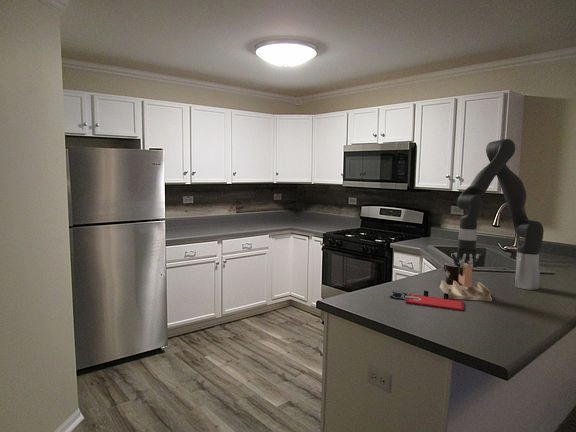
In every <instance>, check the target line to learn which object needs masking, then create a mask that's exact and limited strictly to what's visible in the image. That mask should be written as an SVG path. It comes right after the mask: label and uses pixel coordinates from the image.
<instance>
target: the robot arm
mask: <svg viewBox="0 0 576 432" xmlns="http://www.w3.org/2000/svg"><path fill="white" fill-rule="evenodd" d="M485 147H486V148H485V152H486V156H487V158H488V161H489V163H488V164H487V165H486V166H484V168H483V167H482V169H481V170H480V171H479V172H478V173H477V174H476V176H475V177H474V179H473V180H472V182H471V183H470V185H469V186H468V187H467V188H466V189H464V191H463V192H461V194H459V195H458V198H457V201H456V205H457V207H458V209H460V210H464V211H468V214H466V215H462V216H461V217H460V220H459V230H458V241H457V250H456V252H452V253H450V256H451V259H452V261H453V263H454V264H455V265H456V266H458V267H459V274H460V275H461V276H462V274H463V268H462V267H463V264H464V263H465V261H467V264H468V265H470V266H471V267H472V271H473V269H474V268H478V266H479V264H480V263H481V261H482V259H483V255H481V254H479V253H478V252H477V242H478V241H477V239H478V232H477V231H478V230H477V227H478V219H479V217H480V213H481V211H482V208H483V199H482V197H481V196H483V195H485V193H486V192H487V191H488V189H489V186H491V184H492V182H493V180H494V179H495V178H497V181H498V182H499V185H500V188H501V191H502V193H503V197H504V199H505V201H506V204H507V208H508V210H509V213H510V216H511V219H512V225H513V229H514V232H515V234H516V235H517V236H518V237H520V238H522V239H524V242H523V244H521V245H518V246H517V247H516V248H517V249H516V250H517V251H516V263H515V265H516V266H515V277H514V278H515V280H514V287H516V288H519V289H522V290H539V288H540V287H539V285H540V276H541V275H540V271H541V270H540V269H539V262H540V261H539V259H540V258H539V257H540V251H541V249H542V246H543V239H544V232H545V231H544V226H543V224H542V223H541V222H539V221H537V220H531V219H529V218H528V217H529V216H528V215H527V213H526V210H525V209H526V208H525V206H526V205H525V204H526V201H527V190H526V189H525V185H524V182H523V181H522V179H521V178H520V177H519V176H518V175H517V174H516V173H515V172H514V171H513V170H511V169H510V168H509V166H508V165H507V163H508V162H509V160H511V158H512V157H513V156H514V155H515V152H516V144H515V142H514V141H513V140H512V139H509V138H503V139H498V140H494V141H491V142H488V143H487V145H486V146H485ZM458 257H459V262H458V260H457V258H458ZM475 258H476V259H475ZM474 259H475V260H474Z"/></svg>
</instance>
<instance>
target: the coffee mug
mask: <svg viewBox="0 0 576 432" xmlns="http://www.w3.org/2000/svg"><path fill="white" fill-rule="evenodd" d="M443 271H444V272H445V283H446V284H447V285H453V281H456V282H457V283H458V284H459V285H460V286H461V283H460V282H459V267H458V266H456V265H455V264H454V262H446V263H444V265H443Z"/></svg>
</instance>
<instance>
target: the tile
mask: <svg viewBox="0 0 576 432" xmlns="http://www.w3.org/2000/svg"><path fill="white" fill-rule="evenodd" d="M462 268H463V274H462V276H461V275H460V274H459V282H460V285H461V286H464V287H471V285H472V281H473V280H472V279H473V270H472V267H471V266H470V265H469V263H468V262H464V264H463V267H462Z"/></svg>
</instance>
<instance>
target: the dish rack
mask: <svg viewBox="0 0 576 432" xmlns="http://www.w3.org/2000/svg"><path fill="white" fill-rule="evenodd" d="M476 284H477V285H473V284H471V287H464V286H463V285H461V284H460V285H459V284H458V283H457V282H456V281H453V285H448V284H446V280H443V279H441V281H440V284H439V289H440V290H441V291H442V293H443V294H444V293H447V294H449V297H448V299H450V300H469V301H470V300H471V301H483V302H493V301H492V300H493V297H492V296H491V295H492V291H491V290H490V289H489V288H488V287H487V286H485V285H484V284H483V283H481V282H480V281H477V283H476Z"/></svg>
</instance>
